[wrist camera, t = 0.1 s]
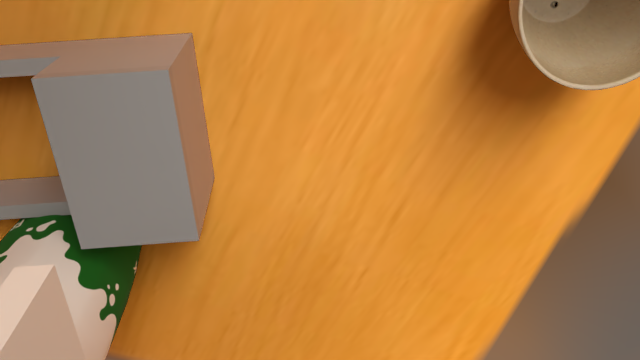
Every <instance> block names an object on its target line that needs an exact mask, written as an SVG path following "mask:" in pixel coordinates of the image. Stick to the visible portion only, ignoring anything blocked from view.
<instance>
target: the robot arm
mask: <svg viewBox="0 0 640 360" xmlns="http://www.w3.org/2000/svg"><path fill="white" fill-rule="evenodd" d="M0 360H86V359H85V356H84V353H83V349H82V346H81V343H80V340H79V337H78V334H77V331H76V328H75V325H74V322H73V319H72V316H71V313H70V310H69V307H68V304H67V301H66V298H65V295H64V292H63V289H62V286H61V283H60V280H59V277H58V274H57V271H56V268H55V265H54V264H52V265H39V266H25V267H14V269H13V270H12V272H11V273H10V274H9V276H8V277H7V279H6V280H5V281H4V283H3V284H2V285H1V287H0Z"/></svg>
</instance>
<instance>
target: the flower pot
mask: <svg viewBox="0 0 640 360" xmlns="http://www.w3.org/2000/svg"><path fill="white" fill-rule="evenodd" d="M556 2H557V6H556V7H555V3H556ZM509 9H510V16H511V21H512V25H513V28H514V31H515V34H516V36H517V39H518V41H519V43H520V45H521V46H522V48H523V50H524V52H525V53H526V55H527V56H528V57H529V59H530V60H531V61H532V62H533V64H534V65H535V66H536V67H537V68H538V69H539V70H540V71H541V72H542V73H543V74H544V75H545V76H547V77H548V78H550V79H551V80H553V81H555V82H557V83H559V84H561V85H563V86H567V87H570V88H574V89H581V90H601V89H607V88H612V87H615V86H619V85H622V84H625V83H627V82H630V81H632V80H634V79H636V78H638V77H640V0H509Z"/></svg>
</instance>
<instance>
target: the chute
mask: <svg viewBox="0 0 640 360" xmlns="http://www.w3.org/2000/svg"><path fill="white" fill-rule="evenodd" d="M32 75H35V76H34V77H32V78H31V81H32V85H33V88H34V91H35V95H36V98H37V102H38V105H39V108H40V112H41V115H42V118H43V122H44V125H45V128H46V132H47V135H48V139H49V142H50V145H51V149H52V152H53V155H54V159H55V162H56V165H57V169H58V172H59V176H54V177H39V178H25V179H11V180H0V220H4V219H18V218H32V217H42V216H48V215H71V216H72V219H73V223H74V226H75V229H76V233H77V236H78V240H79V243H80V246H81V249H92V248H105V247H119V246H133V245H146V244H160V243H174V242H188V241H199V239H200V235H201V230H202V226H203V222H204V218H205V214H206V210H207V206H208V202H209V198H210V194H211V190H212V186H213V182H214V171H213V165H212V158H211V152H210V145H209V139H208V133H207V126H206V120H205V113H204V107H203V100H202V94H201V87H200V81H199V75H198V68H197V62H196V55H195V49H194V42H193V36H192V33H184V34H169V35H153V36H137V37H122V38H106V39H91V40H75V41H59V42H44V43H28V44H13V45H0V78H1V77H17V76H32Z"/></svg>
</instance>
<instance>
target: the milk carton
mask: <svg viewBox="0 0 640 360" xmlns="http://www.w3.org/2000/svg"><path fill="white" fill-rule="evenodd" d="M141 246H142V245H133V246H119V247H105V248H92V249H81V246H80V243H79V240H78V236H77V233H76V229H75V226H74V223H73V219H72V216H71V215H48V216H42V217H32V218H21V219H20V220H19V221H18V222H17V223H16V225H15V226H14V227H13V228H12V229H11V230H10V231H9V232H8V233H7V234H6V236H5V237H4V238H3V239H2V240H1V241H0V287H1V285H2V284H3V283H4V281H5V280H6V279H7V277H8V276H9V274H10V273H11V272H12V270H13V269H14V267H25V266H39V265H52V264H54V265H55V268H56V271H57V274H58V277H59V280H60V283H61V286H62V289H63V292H64V295H65V298H66V301H67V304H68V307H69V310H70V313H71V316H72V319H73V322H74V325H75V328H76V331H77V334H78V337H79V340H80V343H81V346H82V349H83V353H84V356H85V359H86V360H105V359H106V356H107V354H108V351H109V349H110V346H111V343H112V341H113V338H114V335H115V333H116V330H117V328H118V325H119V322H120V320H121V317H122V314H123V312H124V309H125V307H126V304H127V301H128V298H129V294H130V291H131V288H132V285H133V281H134V278H135V274H136V270H137V265H138V260H139V255H140V250H141Z"/></svg>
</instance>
